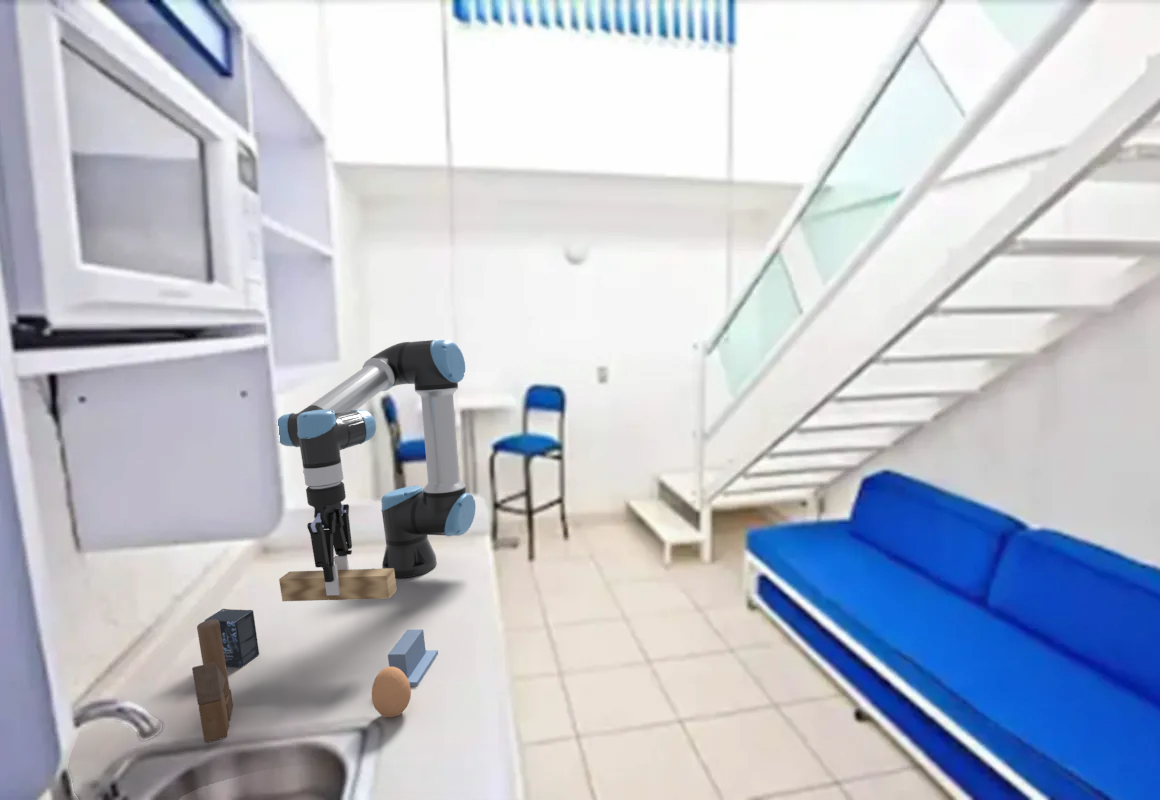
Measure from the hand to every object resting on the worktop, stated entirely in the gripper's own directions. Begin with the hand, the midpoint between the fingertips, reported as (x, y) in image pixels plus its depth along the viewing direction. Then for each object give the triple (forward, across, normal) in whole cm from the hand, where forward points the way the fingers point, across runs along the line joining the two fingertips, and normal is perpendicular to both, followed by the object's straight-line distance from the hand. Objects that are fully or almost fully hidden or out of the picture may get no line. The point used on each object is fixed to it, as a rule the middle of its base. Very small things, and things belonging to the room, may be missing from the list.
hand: (338, 589), depth 140 cm
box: (+14, +3, -24) cm, 28 cm away
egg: (+14, +22, +20) cm, 33 cm away
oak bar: (+1, 0, 0) cm, 1 cm away
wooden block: (+14, +25, -12) cm, 31 cm away
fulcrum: (+14, +7, +17) cm, 23 cm away
